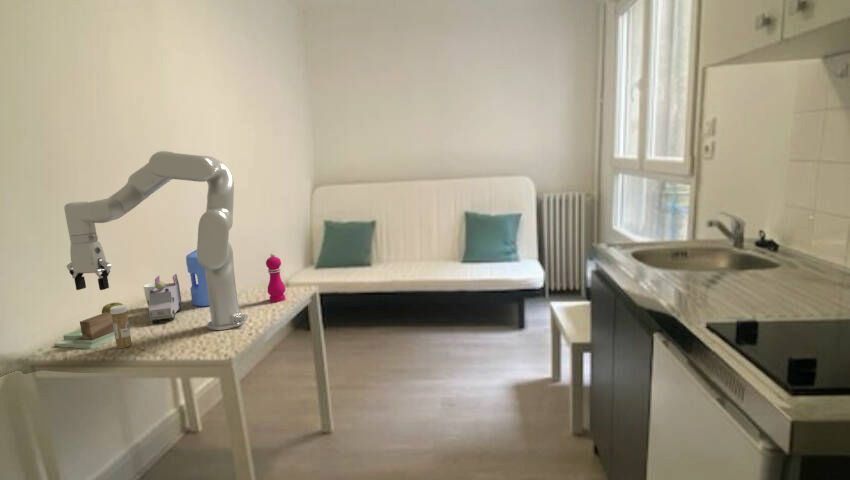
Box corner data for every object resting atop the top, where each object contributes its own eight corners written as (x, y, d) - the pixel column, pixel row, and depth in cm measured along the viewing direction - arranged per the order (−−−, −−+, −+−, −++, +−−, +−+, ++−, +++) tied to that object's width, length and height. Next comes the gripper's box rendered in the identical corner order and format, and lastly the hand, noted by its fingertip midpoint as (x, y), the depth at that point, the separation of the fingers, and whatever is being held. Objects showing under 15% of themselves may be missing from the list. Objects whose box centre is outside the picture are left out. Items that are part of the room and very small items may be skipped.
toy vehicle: (148, 325, 185) (141, 286, 183) (160, 311, 204) (155, 275, 201) (175, 322, 187) (169, 283, 185) (185, 307, 206) (180, 272, 204)
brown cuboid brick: (117, 331, 176) (114, 312, 175) (92, 342, 166) (89, 322, 165) (108, 331, 177) (105, 312, 176) (83, 341, 167) (79, 321, 166)
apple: (100, 326, 188) (97, 308, 187) (107, 320, 195) (104, 302, 194) (123, 323, 190) (120, 305, 188) (129, 317, 197) (126, 299, 196)
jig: (128, 332, 178) (127, 325, 178) (91, 348, 164) (89, 340, 163) (94, 331, 182) (93, 324, 182) (54, 346, 168) (53, 339, 167)
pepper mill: (273, 297, 213) (268, 251, 210) (289, 297, 212) (284, 251, 209) (265, 302, 206) (260, 255, 203) (282, 302, 205) (276, 254, 202)
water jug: (235, 295, 222) (227, 232, 217) (226, 305, 207) (217, 238, 202) (198, 298, 220) (190, 235, 215) (187, 308, 205) (177, 241, 200)
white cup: (169, 307, 208) (166, 284, 206) (148, 311, 203) (144, 288, 202) (166, 303, 214) (163, 281, 213) (146, 307, 210) (142, 284, 208)
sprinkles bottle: (131, 346, 163) (124, 307, 161) (115, 349, 161) (108, 309, 159) (133, 342, 167) (127, 303, 165) (117, 345, 166) (111, 306, 163)
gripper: (114, 236, 168) (122, 286, 170) (73, 237, 172) (82, 286, 175) (94, 240, 160) (104, 292, 163) (52, 241, 165) (62, 292, 167)
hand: (92, 289), depth 169 cm, fingers open, 9 cm apart
